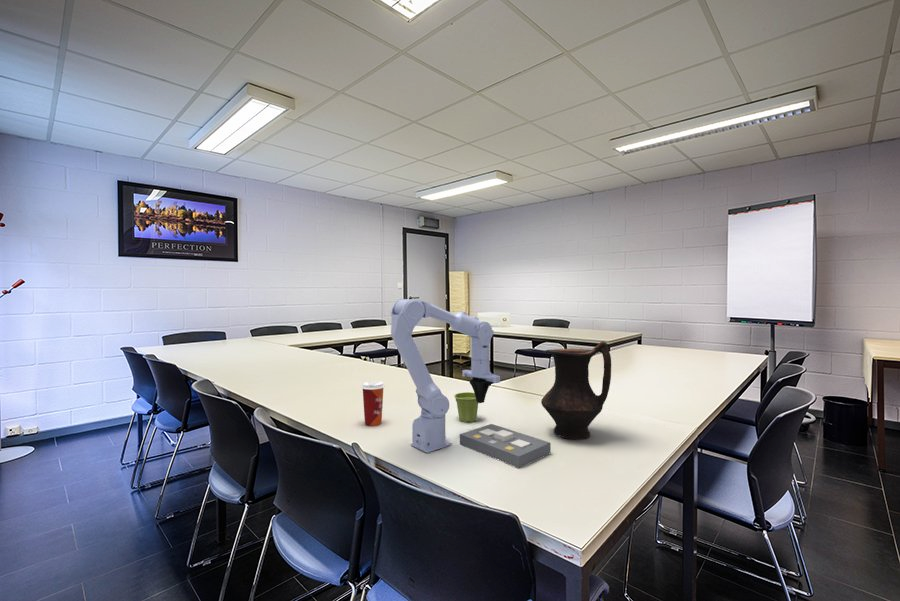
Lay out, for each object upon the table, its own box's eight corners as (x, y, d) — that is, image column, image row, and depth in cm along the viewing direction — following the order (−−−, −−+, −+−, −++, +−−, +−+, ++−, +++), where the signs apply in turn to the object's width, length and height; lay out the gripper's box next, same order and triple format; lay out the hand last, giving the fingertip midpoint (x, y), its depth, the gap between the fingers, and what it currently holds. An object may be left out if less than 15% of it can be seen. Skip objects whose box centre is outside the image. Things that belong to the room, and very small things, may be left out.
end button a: (488, 445, 114) (488, 435, 114) (478, 441, 117) (478, 431, 117) (497, 442, 116) (497, 432, 116) (487, 438, 119) (487, 428, 119)
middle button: (504, 447, 109) (504, 436, 109) (493, 443, 112) (493, 432, 112) (513, 443, 112) (513, 433, 112) (502, 439, 115) (502, 429, 115)
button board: (518, 468, 99) (518, 455, 99) (459, 444, 116) (459, 433, 116) (550, 453, 109) (550, 442, 109) (491, 433, 125) (491, 423, 125)
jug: (533, 439, 120) (533, 341, 119) (548, 422, 136) (548, 336, 136) (607, 451, 110) (607, 345, 110) (614, 431, 126) (614, 338, 126)
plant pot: (471, 425, 132) (471, 400, 132) (449, 420, 138) (449, 396, 138) (485, 418, 140) (485, 394, 140) (464, 414, 145) (464, 391, 145)
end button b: (521, 458, 105) (521, 446, 105) (510, 453, 108) (510, 442, 108) (530, 454, 108) (530, 443, 108) (519, 449, 111) (519, 439, 110)
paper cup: (382, 427, 131) (382, 385, 131) (359, 427, 131) (359, 385, 131) (386, 419, 139) (386, 380, 139) (364, 419, 139) (364, 380, 139)
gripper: (506, 360, 120) (506, 404, 120) (473, 355, 131) (473, 395, 131) (491, 363, 115) (491, 409, 116) (457, 357, 126) (457, 399, 126)
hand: (480, 402), depth 123 cm, fingers closed
